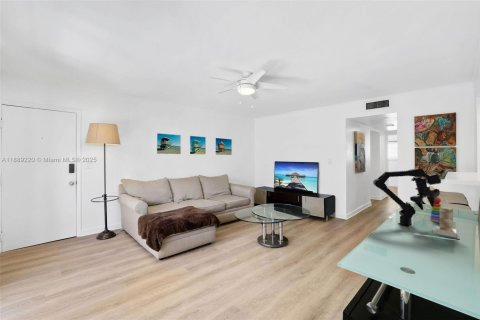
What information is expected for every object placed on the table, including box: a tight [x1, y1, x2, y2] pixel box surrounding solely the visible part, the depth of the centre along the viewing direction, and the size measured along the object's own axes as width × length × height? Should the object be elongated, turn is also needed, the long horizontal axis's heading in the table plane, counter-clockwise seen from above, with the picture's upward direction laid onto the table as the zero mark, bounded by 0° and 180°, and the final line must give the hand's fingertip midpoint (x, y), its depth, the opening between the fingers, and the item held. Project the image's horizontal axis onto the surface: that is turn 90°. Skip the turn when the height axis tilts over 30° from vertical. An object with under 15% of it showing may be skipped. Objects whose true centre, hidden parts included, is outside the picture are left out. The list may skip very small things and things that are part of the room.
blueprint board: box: [432, 224, 461, 241], centre depth 139 cm, size 24×12×4 cm, turn 136°
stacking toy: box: [429, 196, 442, 223], centre depth 162 cm, size 8×8×19 cm
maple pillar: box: [439, 206, 454, 231], centre depth 134 cm, size 5×5×13 cm
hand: (427, 208), depth 150 cm, fingers open, 9 cm apart
